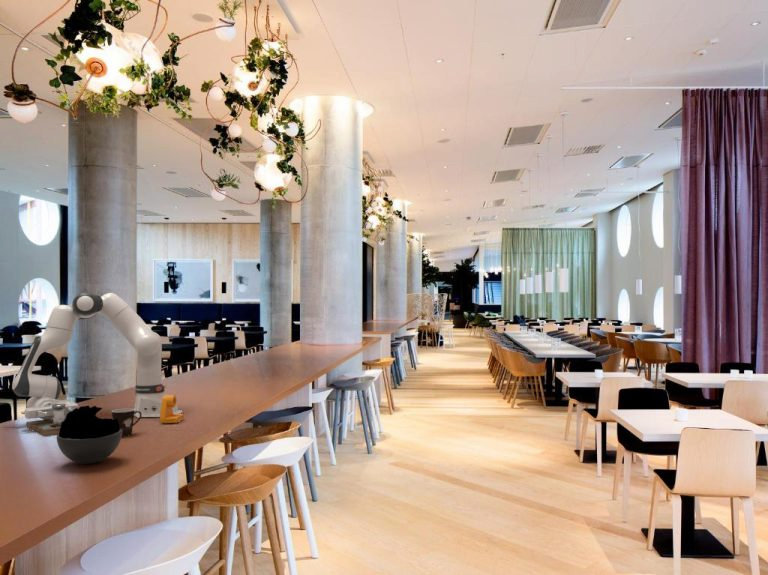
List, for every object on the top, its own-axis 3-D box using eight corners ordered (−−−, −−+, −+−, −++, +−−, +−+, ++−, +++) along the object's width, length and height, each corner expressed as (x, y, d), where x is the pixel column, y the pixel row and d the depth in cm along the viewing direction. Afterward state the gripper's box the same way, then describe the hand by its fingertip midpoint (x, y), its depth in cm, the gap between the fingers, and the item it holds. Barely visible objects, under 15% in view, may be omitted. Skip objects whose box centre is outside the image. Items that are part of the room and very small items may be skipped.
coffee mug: (112, 438, 246) (112, 413, 246) (110, 434, 253) (110, 409, 254) (143, 435, 251) (143, 410, 251) (141, 431, 259) (141, 407, 259)
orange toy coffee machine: (176, 424, 273) (176, 397, 273) (159, 424, 273) (159, 397, 273) (184, 419, 283) (184, 393, 284) (168, 419, 283) (168, 393, 284)
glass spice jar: (68, 430, 261) (68, 403, 261) (60, 433, 256) (60, 405, 256) (57, 430, 262) (57, 403, 262) (49, 432, 257) (49, 405, 257)
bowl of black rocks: (92, 453, 223) (92, 400, 223) (135, 458, 215) (135, 403, 215) (42, 467, 204) (42, 409, 205) (87, 473, 197) (87, 414, 197)
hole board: (26, 427, 267) (26, 421, 267) (61, 422, 277) (61, 416, 277) (44, 436, 250) (44, 429, 250) (81, 431, 260) (81, 424, 260)
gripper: (19, 404, 262) (30, 408, 252) (71, 398, 277) (83, 402, 267) (19, 419, 262) (30, 424, 252) (71, 413, 277) (83, 417, 267)
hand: (57, 413), depth 260 cm, fingers open, 8 cm apart
